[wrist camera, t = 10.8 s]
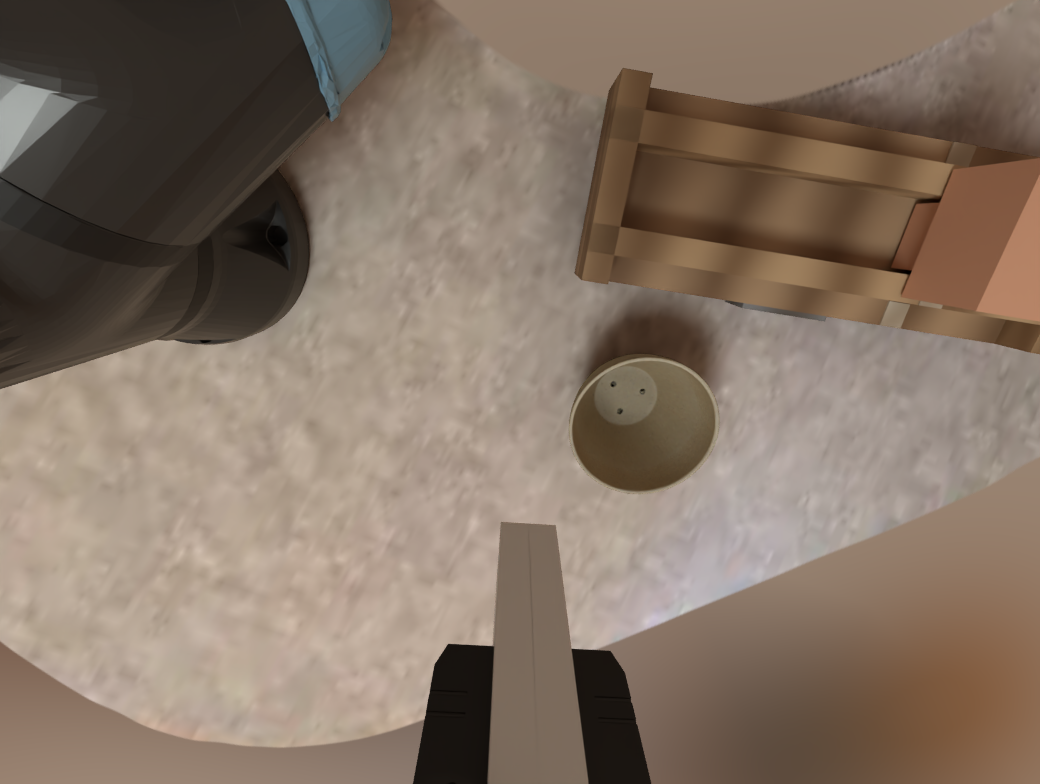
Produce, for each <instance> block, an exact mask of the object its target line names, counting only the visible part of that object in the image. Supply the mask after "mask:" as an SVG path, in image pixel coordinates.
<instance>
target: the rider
mask: <svg viewBox="0 0 1040 784" xmlns="http://www.w3.org/2000/svg"><path fill="white" fill-rule="evenodd" d="M891 268H895V269H901V270H907V271H912V272H911V274H910V277H909V279H908V281H907V284H906V286H905V289H904V291H903V294H902V296H901V297H903V298H909V299H914V300H919V301H925V302H930V303H935V304H941V305H946V306H951V307H957V308H962V309H967V310H973V311H978V312H984V313H991V314H997V315H1003V316H1009V317H1015V318H1021V319H1027V320H1033V321H1039V322H1040V158H1036V159H1029V160H1021V161H1014V162H1006V163H999V164H991V165H984V166H976V167H968V168H961V169H954V170H953V172H952V175H951V177H950V180H949V182H948V184H947V187H946V189H945V192H944V194H943V197H942V199H941V201H940V203H924V204H916V206H915V208H914V211H913V213H912V216H911V218H910V221H909V223H908V226H907V228H906V231H905V233H904V236H903V238H902V241H901V243H900V246H899V248H898V251H897V253H896V256H895V259H894V261H893V264H892V266H891Z"/></svg>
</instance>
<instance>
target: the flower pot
mask: <svg viewBox="0 0 1040 784" xmlns="http://www.w3.org/2000/svg"><path fill="white" fill-rule="evenodd" d="M611 384H613V385H614V387H613V386H611ZM641 389H644V390H642V391H640V390H641ZM621 409H622V413H620V410H621ZM718 432H719V410H718V405H717V401H716V399H715V396H714V394H713V392H712V391H711V389H710V387H709V386H708V384H707V383H706V382H705V381H704V380H703V379H702V378H701V377H700V376H699V375H698V374H697V373H696V372H695V371H693V370H692V369H690V368H689V367H687V366H685V365H683V364H681V363H679V362H677V361H675V360H672V359H669V358H666V357H663V356H658V355H652V354H631V355H625V356H621V357H618V358H615V359H613V360H610V361H608V362H606V363H605V364H603V365H601V366H600V367H599V368H597V369H596V370H595V371H594V372H593V373H592V374H591V375H590V376H589V377H588V378H587V379H586V380H585V382H584V383H583V385H582V386H581V388H580V390H579V392H578V394H577V396H576V398H575V400H574V403H573V406H572V410H571V415H570V420H569V438H570V444H571V448H572V451H573V454H574V456H575V458H576V460H577V462H578V463H579V465H580V466H581V468H582V469H583V470H584V471H585V472H586V473H587V474H588V475H589V476H590V477H591V478H592V479H594V480H595V481H596V482H598V483H600V484H601V485H603V486H605V487H607V488H610V489H612V490H615V491H619V492H623V493H628V494H647V493H654V492H659V491H662V490H665V489H668V488H671V487H673V486H675V485H677V484H679V483H681V482H683V481H684V480H686V479H687V478H689V477H690V476H691V475H693V474H694V473H695V472H696V471H697V470H698V469H699V468H700V467H701V466H702V465H703V463H704V462H705V461H706V460H707V458H708V457H709V455H710V453H711V452H712V450H713V448H714V445H715V442H716V440H717V437H718Z"/></svg>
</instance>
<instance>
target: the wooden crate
mask: <svg viewBox="0 0 1040 784" xmlns="http://www.w3.org/2000/svg"><path fill="white" fill-rule="evenodd" d="M652 75H653V73H647V72H642V71H636V70H631V69H625V68H623V69H622V70H621V72H620V74H619V75H618V77H617V79H616V80H615V82H614V83H613V85H612V87H611V88H610V90H609V93H608V99H607V104H606V109H605V114H604V120H603V125H602V130H601V136H600V141H599V146H598V152H597V157H596V162H595V167H594V173H593V178H592V183H591V189H590V194H589V199H588V205H587V210H586V215H585V221H584V226H583V231H582V236H581V242H580V247H579V252H578V258H577V263H576V268H575V274H576V275H577V276H578V277H579V278H580V279H581V280H584V281H590V282H596V283H602V284H608V282H609V281H610V282H616V283H623V284H629V285H635V286H641V287H647V288H654V289H660V290H666V291H672V292H678V293H685V294H691V295H697V296H703V297H709V298H715V299H722V300H726V301H725V302H728V303H730V304H733V305H736V306H738V307H741V308H745V309H752V310H758V311H764V312H770V313H777V314H783V315H789V316H795V317H801V318H808V319H814V320H820V321H825V319H826V317H833V318H839V319H845V320H852V321H858V322H864V323H870V324H876V325H882V326H888V327H894V328H901V329H907V330H914V331H920V332H926V333H932V334H938V335H944V336H951V337H957V338H963V339H969V340H975V341H982V342H988V343H994V344H998V345H1002V346H1006V347H1010V348H1014V349H1018V350H1022V351H1026V352H1030V353H1037V354H1040V322H1039V321H1033V320H1027V319H1021V318H1015V317H1009V316H1003V315H997V314H991V313H984V312H978V311H973V310H967V309H962V308H957V307H951V306H946V305H941V304H935V303H930V302H925V301H919V300H914V299H909V298H903V297H901V296H902V294H903V291H904V289H905V286H906V284H907V281H908V279H909V277H910V274H911V272H912V271H907V270H901V269H895V268H891V266H892V264H893V261H894V259H895V256H896V253H897V251H898V248H899V246H900V243H901V241H902V238H903V236H904V233H905V231H906V228H907V226H908V223H909V221H910V218H911V216H912V213H913V211H914V208H915V206H916V204H924V203H940V201H941V199H942V197H943V194H944V192H945V189H946V187H947V184H948V182H949V180H950V177H951V175H952V172H953V170H954V169H961V168H968V167H976V166H984V165H991V164H999V163H1006V162H1014V161H1021V160H1029V159H1036V158H1040V157H1035V156H1029V155H1023V154H1018V153H1012V152H1007V151H1001V150H996V149H990V148H984V147H979V146H977V145H971V144H966V143H960V142H951V141H945V140H940V139H934V138H929V137H923V136H918V135H912V134H906V133H901V132H895V131H890V130H884V129H879V128H873V127H867V126H862V125H856V124H851V123H845V122H840V121H834V120H828V119H823V118H817V117H812V116H806V115H801V114H795V113H789V112H784V111H778V110H773V109H767V108H762V107H756V106H750V105H745V104H739V103H734V102H728V101H722V100H717V99H711V98H706V97H700V96H695V95H689V94H684V93H678V92H672V91H667V90H661V89H656V88H650V84H651V79H652Z"/></svg>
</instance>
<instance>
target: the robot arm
mask: <svg viewBox="0 0 1040 784" xmlns="http://www.w3.org/2000/svg"><path fill="white" fill-rule="evenodd" d="M391 32H392V13H391V8H390V2H389V0H0V389H2V388H5V387H9V386H12V385H15V384H18V383H21V382H24V381H27V380H31V379H34V378H37V377H40V376H43V375H46V374H50V373H53V372H56V371H59V370H62V369H65V368H68V367H72V366H75V365H78V364H81V363H84V362H87V361H91V360H94V359H97V358H100V357H103V356H106V355H109V354H113V353H116V352H119V351H122V350H125V349H128V348H132V347H135V346H138V345H141V344H144V343H147V342H150V341H153V340H165V341H170V340H176V341H180V342H185V343H192V344H203V345H214V344H224V343H230V342H234V341H238V340H241V339H244V338H247V337H249V336H252V335H254V334H257V333H259V332H261V331H264V330H266V329H267V328H269V327H271V326H272V325H274V324H275V323H277V322H278V321H279V320H280V319H281V318H283V317H284V316H285V315H286V314H287V312H288V311H289V310H290V309H291V308H292V306H293V305H294V303H295V302H296V300H297V298H298V296H299V294H300V292H301V290H302V288H303V285H304V282H305V278H306V274H307V269H308V260H309V245H308V236H307V230H306V226H305V222H304V218H303V215H302V212H301V210H300V207H299V205H298V202H297V200H296V198H295V196H294V194H293V192H292V190H291V189H290V187H289V185H288V184H287V182H286V181H285V179H284V178H283V177H282V175H281V174H280V173H279V171H278V170H277V168H278V167H279V166H280V165H281V164H282V163H283V162H284V161H285V160H286V159H287V158H288V157H289V156H290V155H291V154H292V153H293V152H294V151H295V150H296V149H297V148H298V147H299V146H300V145H301V144H302V143H303V142H304V141H305V140H306V139H307V138H308V137H309V136H310V135H311V134H312V133H313V132H314V131H315V130H316V129H317V128H318V127H319V126H320V125H321V124H322V123H323V122H324V121H326V120H327V119H328V118H329V119H330V120H331V121H334V120H335V119H336V118H337V117H338V116H339V114H340V112H341V106H340V105H341V104H342V103H343V102H344V101H345V99H346V98H347V97H348V96H349V95H350V94H351V93H352V92H353V91H354V90H355V88H356V87H357V86H358V85H359V84H360V83H361V82H362V81H363V80H364V79H365V77H366V76H367V75H368V74H369V73H370V72H371V71H372V70H373V69H374V67H375V66H376V65H377V64H378V63H379V62H380V60H381V59H382V58H383V56H384V54H385V53H386V51H387V49H388V46H389V43H390V39H391ZM413 784H651V780H650V776H649V772H648V768H647V764H646V760H645V755H644V751H643V747H642V743H641V738H640V734H639V731H638V726H637V724H636V717H635V713H634V709H633V705H632V703H631V696H630V692H629V688H628V684H627V680H626V675H625V672H624V671H623V669H622V668H621V666H620V665H619V663H618V662H617V660H616V659H615V657H614V656H613V654H612V653H611V651H602V650H583V649H571V642H570V634H569V626H568V618H567V610H566V602H565V594H564V587H563V579H562V571H561V563H560V555H559V547H558V540H557V532H556V525H542V524H525V523H509V522H501V529H500V542H499V556H498V569H497V582H496V595H495V612H494V630H493V646H479V645H459V644H448V645H447V646H446V648H445V650H444V651H443V653H442V654H441V656H440V657H439V659H438V660H437V662H436V663H435V666H434V671H433V677H432V682H431V688H430V695H429V699H428V704H427V710H426V716H425V721H424V726H423V732H422V737H421V743H420V748H419V754H418V760H417V765H416V771H415V776H414V782H413Z"/></svg>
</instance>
